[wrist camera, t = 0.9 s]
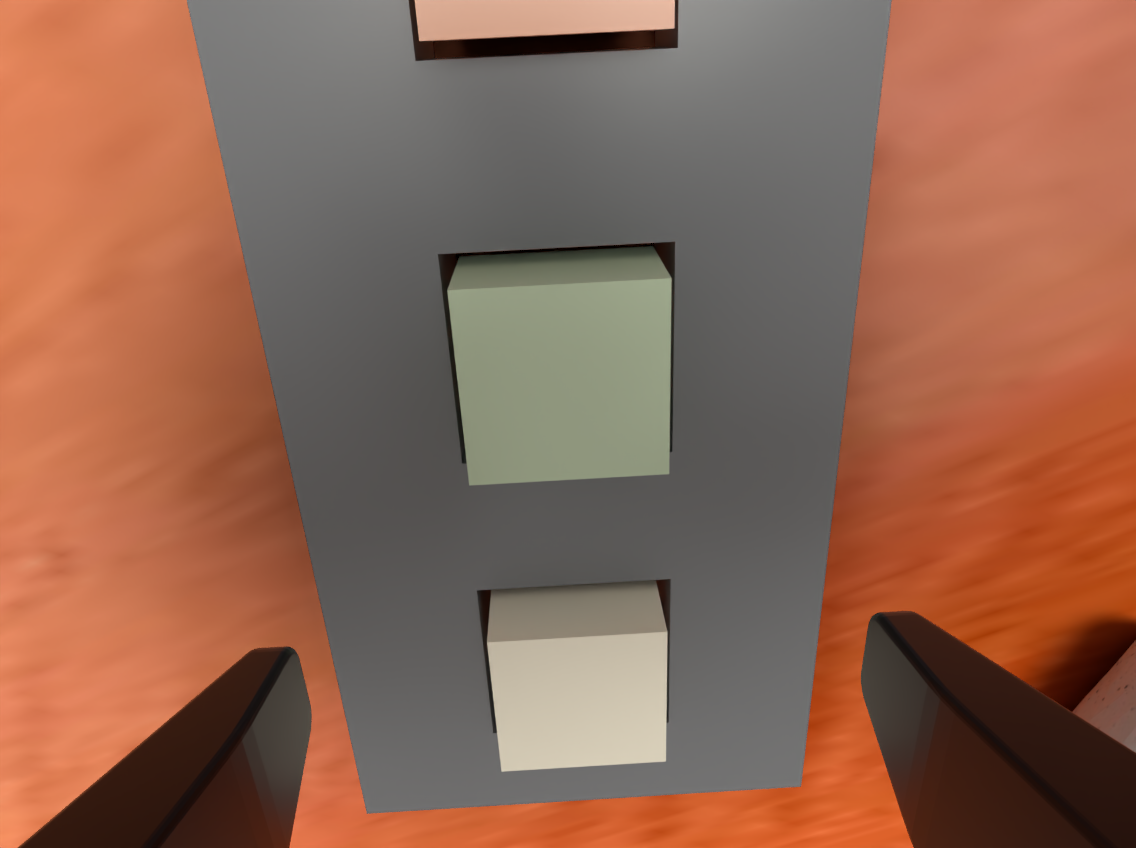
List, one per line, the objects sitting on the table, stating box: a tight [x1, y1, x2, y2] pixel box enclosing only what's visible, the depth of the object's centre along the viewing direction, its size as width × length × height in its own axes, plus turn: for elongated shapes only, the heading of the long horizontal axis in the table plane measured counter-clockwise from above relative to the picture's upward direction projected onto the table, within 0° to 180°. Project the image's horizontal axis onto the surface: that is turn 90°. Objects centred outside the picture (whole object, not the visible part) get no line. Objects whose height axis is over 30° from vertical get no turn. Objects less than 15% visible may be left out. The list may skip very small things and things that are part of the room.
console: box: [187, 0, 892, 814], centre depth 18 cm, size 12×26×3 cm, turn 3°
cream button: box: [487, 580, 667, 772], centre depth 20 cm, size 4×4×2 cm
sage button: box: [447, 246, 672, 485], centre depth 16 cm, size 4×4×2 cm
